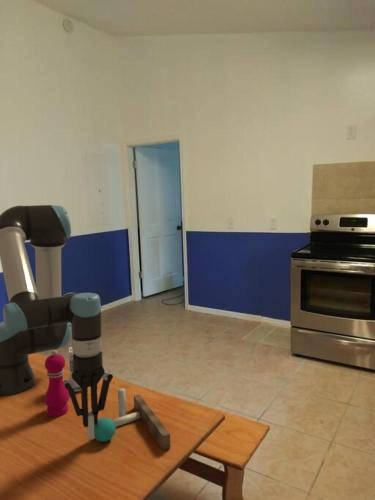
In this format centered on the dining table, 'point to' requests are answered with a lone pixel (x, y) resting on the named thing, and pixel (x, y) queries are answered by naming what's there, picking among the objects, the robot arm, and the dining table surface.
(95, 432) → the ball
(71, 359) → the syrup box
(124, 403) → the grey pin
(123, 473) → the dining table surface
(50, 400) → the pepper mill
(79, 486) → the dining table surface
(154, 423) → the back wall
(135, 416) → the ivory pin
